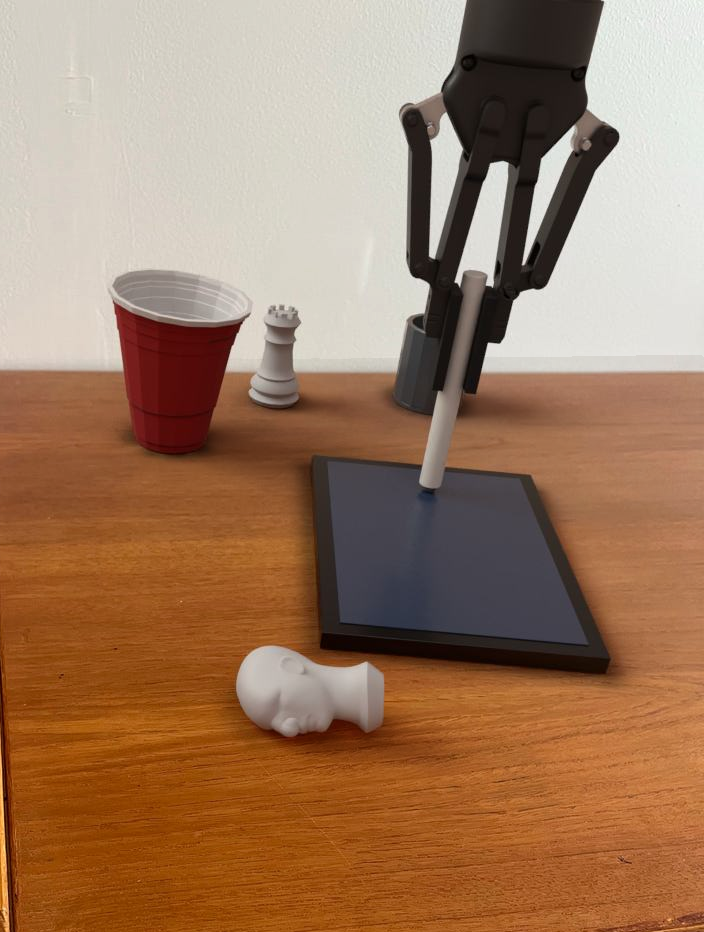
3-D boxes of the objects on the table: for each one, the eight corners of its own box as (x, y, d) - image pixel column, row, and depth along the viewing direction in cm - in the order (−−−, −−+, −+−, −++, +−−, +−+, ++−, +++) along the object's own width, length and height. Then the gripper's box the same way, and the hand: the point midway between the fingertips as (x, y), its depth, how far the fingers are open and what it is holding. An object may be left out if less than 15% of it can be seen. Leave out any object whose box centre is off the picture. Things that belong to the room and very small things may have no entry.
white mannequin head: (222, 741, 55) (250, 667, 58) (369, 778, 53) (390, 700, 56) (219, 695, 52) (249, 619, 55) (376, 733, 50) (398, 652, 53)
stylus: (438, 484, 77) (485, 271, 67) (440, 495, 75) (489, 278, 66) (416, 482, 76) (461, 268, 67) (419, 492, 75) (465, 275, 66)
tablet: (527, 488, 80) (531, 473, 80) (605, 674, 61) (612, 657, 60) (310, 468, 80) (312, 453, 80) (319, 648, 61) (322, 631, 60)
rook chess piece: (300, 393, 93) (311, 304, 88) (296, 412, 89) (307, 320, 84) (251, 387, 93) (259, 297, 88) (244, 406, 89) (253, 314, 85)
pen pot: (456, 391, 96) (472, 316, 92) (466, 418, 91) (483, 340, 87) (390, 385, 96) (403, 310, 92) (396, 411, 91) (410, 333, 87)
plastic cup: (220, 480, 77) (233, 322, 70) (84, 453, 79) (84, 297, 72) (254, 425, 86) (269, 279, 79) (131, 402, 88) (135, 258, 81)
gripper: (415, -28, 54) (348, 395, 68) (690, -1, 54) (568, 416, 68) (402, -34, 61) (343, 355, 74) (649, -10, 61) (545, 374, 74)
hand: (451, 384), depth 71 cm, fingers closed on stylus, 2 cm apart
